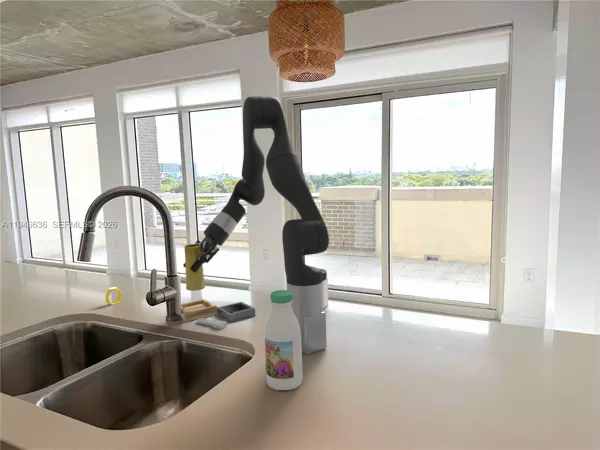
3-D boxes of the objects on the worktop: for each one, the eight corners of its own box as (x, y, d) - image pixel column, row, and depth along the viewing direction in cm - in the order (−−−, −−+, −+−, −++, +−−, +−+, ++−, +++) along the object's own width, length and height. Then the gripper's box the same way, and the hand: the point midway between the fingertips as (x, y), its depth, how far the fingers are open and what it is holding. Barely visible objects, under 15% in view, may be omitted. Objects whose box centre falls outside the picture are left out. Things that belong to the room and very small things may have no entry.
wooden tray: (219, 313, 133) (218, 306, 133) (186, 321, 127) (186, 313, 127) (205, 305, 142) (205, 298, 142) (174, 312, 136) (174, 305, 136)
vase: (182, 290, 132) (179, 246, 130) (192, 285, 138) (189, 243, 136) (199, 291, 130) (196, 247, 128) (208, 286, 136) (205, 243, 134)
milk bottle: (283, 370, 93) (280, 285, 91) (309, 380, 88) (307, 291, 86) (259, 384, 87) (255, 294, 85) (286, 396, 83) (282, 300, 80)
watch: (110, 307, 145) (108, 291, 143) (105, 306, 146) (102, 290, 145) (124, 301, 150) (121, 285, 149) (118, 300, 151) (116, 285, 150)
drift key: (226, 326, 122) (226, 322, 122) (220, 329, 119) (219, 325, 119) (202, 320, 128) (202, 316, 127) (195, 323, 125) (195, 318, 125)
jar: (333, 305, 138) (332, 271, 136) (315, 311, 132) (314, 275, 131) (315, 300, 144) (314, 266, 143) (297, 305, 139) (296, 270, 138)
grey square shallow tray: (255, 315, 131) (255, 308, 130) (229, 322, 125) (229, 314, 125) (241, 308, 138) (241, 301, 137) (217, 314, 132) (216, 307, 132)
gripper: (204, 219, 141) (172, 259, 136) (222, 223, 130) (188, 266, 124) (219, 233, 145) (188, 271, 139) (238, 237, 133) (206, 280, 128)
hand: (188, 269), depth 132 cm, fingers closed on vase, 5 cm apart
